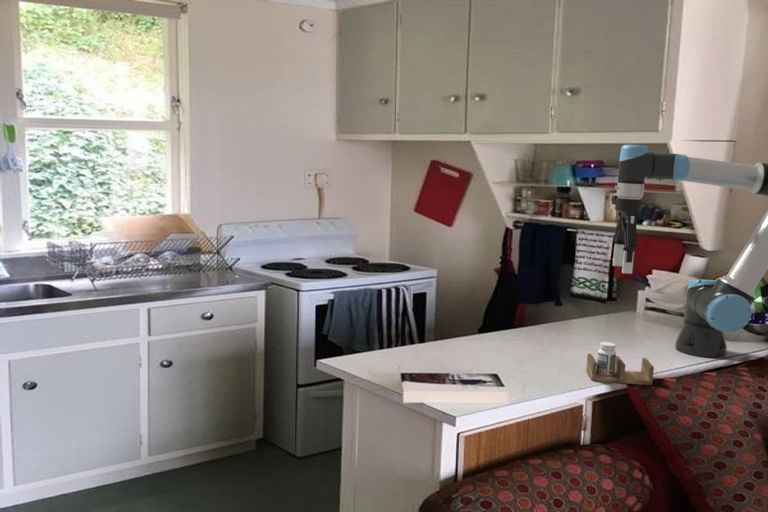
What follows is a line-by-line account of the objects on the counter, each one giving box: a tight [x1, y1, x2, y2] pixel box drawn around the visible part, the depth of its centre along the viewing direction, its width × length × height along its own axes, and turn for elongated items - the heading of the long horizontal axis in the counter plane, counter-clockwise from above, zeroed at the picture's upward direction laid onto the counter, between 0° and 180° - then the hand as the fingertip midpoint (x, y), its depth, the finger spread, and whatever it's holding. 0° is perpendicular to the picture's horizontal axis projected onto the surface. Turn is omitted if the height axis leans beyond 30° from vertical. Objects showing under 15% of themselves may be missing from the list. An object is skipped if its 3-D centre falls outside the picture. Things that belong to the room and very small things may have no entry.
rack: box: [585, 353, 655, 386], centre depth 222 cm, size 16×9×5 cm, turn 85°
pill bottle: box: [596, 341, 617, 376], centre depth 221 cm, size 5×5×8 cm
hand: (622, 269), depth 240 cm, fingers open, 13 cm apart
